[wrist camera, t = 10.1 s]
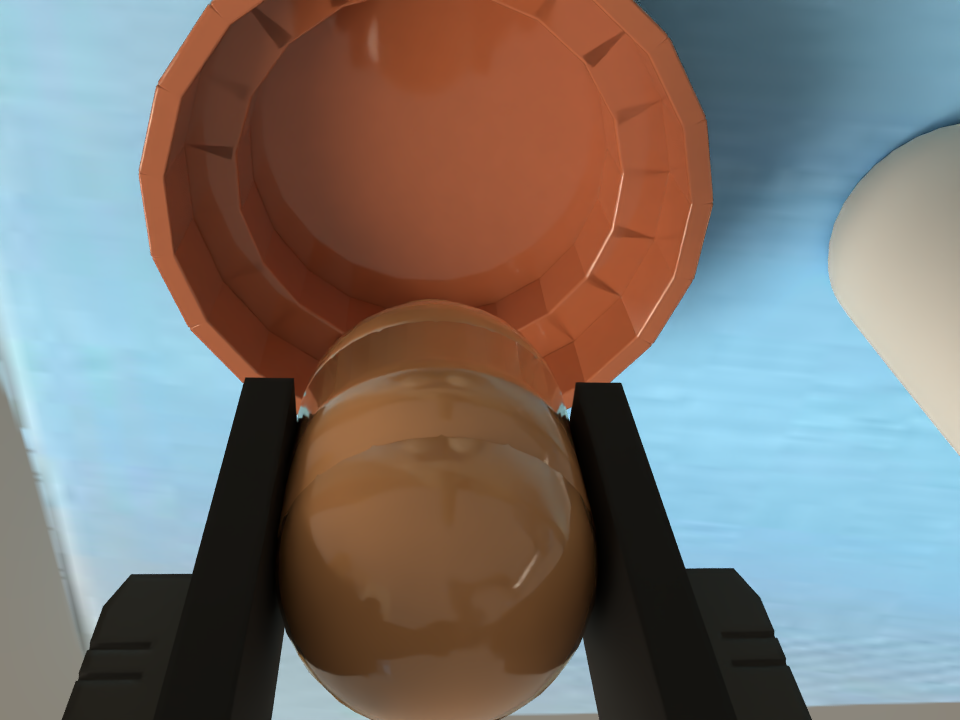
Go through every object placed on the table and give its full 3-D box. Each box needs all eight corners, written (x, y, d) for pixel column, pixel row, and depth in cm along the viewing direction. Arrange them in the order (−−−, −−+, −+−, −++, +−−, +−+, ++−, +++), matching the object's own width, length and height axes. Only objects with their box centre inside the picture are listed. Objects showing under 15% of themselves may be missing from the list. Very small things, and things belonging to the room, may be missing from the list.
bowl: (516, -239, 20) (543, -241, 16) (733, 219, 28) (789, 298, 23) (78, 82, 24) (9, 148, 20) (373, 412, 31) (367, 510, 27)
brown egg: (469, 203, 15) (512, 513, 9) (588, 381, 17) (689, 724, 11) (260, 327, 16) (165, 679, 10) (399, 478, 18) (393, 838, 12)
